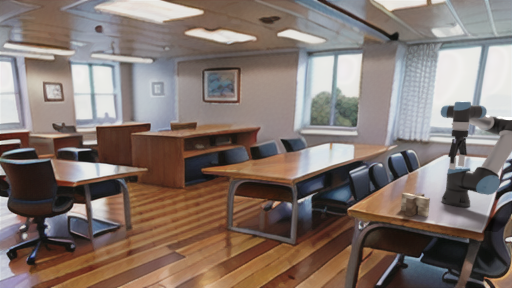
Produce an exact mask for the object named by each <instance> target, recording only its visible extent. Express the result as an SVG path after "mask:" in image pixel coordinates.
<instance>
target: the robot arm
mask: <svg viewBox="0 0 512 288" xmlns="http://www.w3.org/2000/svg"><path fill="white" fill-rule="evenodd" d="M440 116H442V118H445V119H446V118H447V119H449V118H450V119H452V123H451V129H452V130H451V137H453V138H452V140H451V144H450V149H449V152H448V155H447V157H448V158H449V163H448V164H449V165H448V167H449V168H448V169H447V173H446V185H445V186H446V187H445V190H444V192H443V194H442V197H441V202H442V203H443V204H446V205H449V206H452V207H460V208H461V207H462V208H467V207H470V206H471V199H470V196H469V191H470V192H473V193H478V194H480V195H487V196H489V195H493V194H495V193H496V192H497V191H498V190H499V188H500V184H501V180H500V175H499V172H501V169H502V168H503V166H504V165H505V162H506V161H507V160H508V158H509V157H510V155H511V153H512V116H492V115H487V108H486V107H485V106H484V105H479V104H472V103H471V101H468V100H467V101H463V100H461V101H456V102H454V104H453V105H451V104H447V105H444V106H443V105H442V107H441V110H440ZM470 125H472V126H474V127H477V128H479V130H482V131H484V132H487V133H490V134H493V135H495V136H496V135H498V136H500V137H499V139H498V140H497V142H496V143H495V145H494V146H493V148H492V149H491V151H490V152H489V154H488V155H487V157H486V158H485V160H484V162H483V163H482V164H481V166H477V167H476V169H475V170H474V171H472V170H471V168H470V167H466V166H465V157H466V156H467V155H468V152H467V151H468V150H467V137H468V136H469V131H468V130H469V128H470ZM458 152H459V154H458ZM457 154H458V162H457ZM457 163H458V164H457ZM456 164H457V165H456ZM456 166H457V167H456ZM464 166H465V167H464Z"/></svg>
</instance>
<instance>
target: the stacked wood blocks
mask: <svg viewBox="0 0 512 288" xmlns="http://www.w3.org/2000/svg"><path fill="white" fill-rule="evenodd" d="M410 196H413V197H417V198H416V206H418V213H417V216H422V217H426V218H427V217H428V216H429V214H430V213H429V211H430V203H431V201H430V200H431V198H430V197H425V196H424V197H422V196H417V195H415V194H412V193H409V192H402V193H401V200H400V201H401V203H400V211H403V212H406V198H407V197H410Z"/></svg>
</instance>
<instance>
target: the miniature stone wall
mask: <svg viewBox="0 0 512 288" xmlns="http://www.w3.org/2000/svg"><path fill="white" fill-rule="evenodd" d="M414 195H417V196H422V197H425V193H421V192H418V193H415V194H414ZM416 198H417V197H413V196H410V197H407V198H406V211H404V212H405V216H408V217H413V216H415V215H418V206H416Z"/></svg>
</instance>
